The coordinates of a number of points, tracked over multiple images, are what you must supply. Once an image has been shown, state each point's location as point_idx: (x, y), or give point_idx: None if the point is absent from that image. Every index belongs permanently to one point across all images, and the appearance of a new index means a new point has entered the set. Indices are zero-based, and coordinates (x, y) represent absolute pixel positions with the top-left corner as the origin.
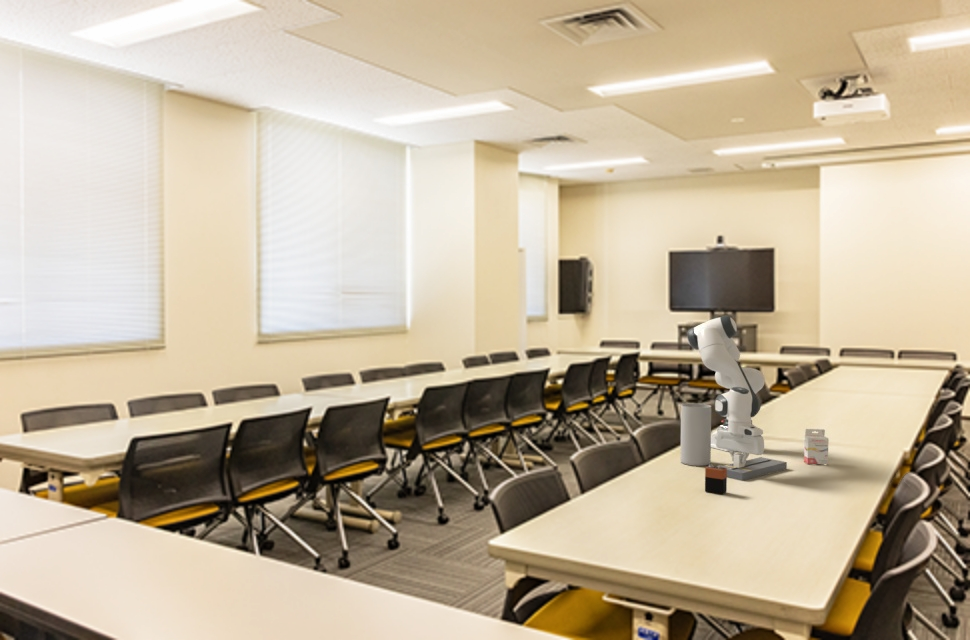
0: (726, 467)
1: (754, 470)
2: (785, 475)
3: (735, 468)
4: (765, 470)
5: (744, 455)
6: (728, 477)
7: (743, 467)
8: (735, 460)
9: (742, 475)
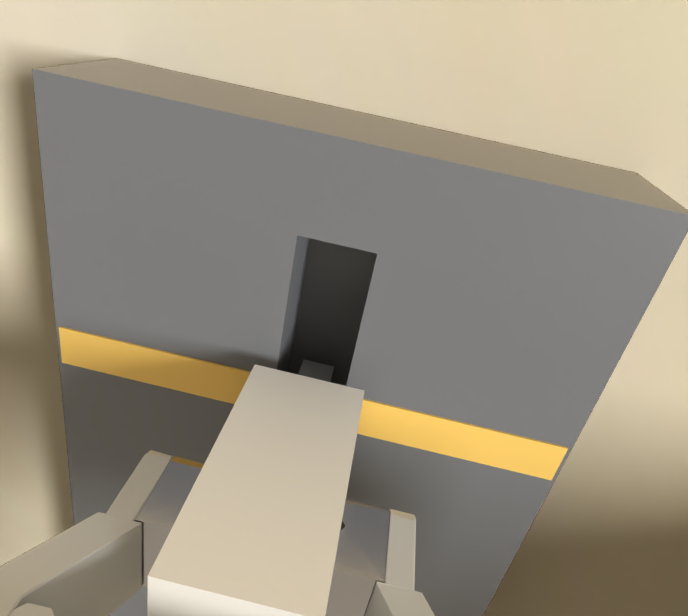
0: (486, 338)
1: (67, 414)
2: None
3: None
4: None
5: (11, 594)
6: (380, 117)
7: None
8: (298, 473)
9: (63, 70)
